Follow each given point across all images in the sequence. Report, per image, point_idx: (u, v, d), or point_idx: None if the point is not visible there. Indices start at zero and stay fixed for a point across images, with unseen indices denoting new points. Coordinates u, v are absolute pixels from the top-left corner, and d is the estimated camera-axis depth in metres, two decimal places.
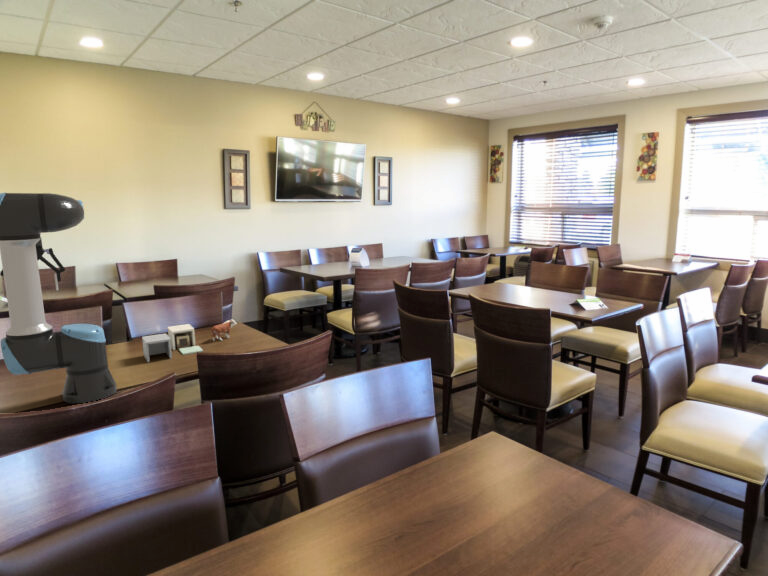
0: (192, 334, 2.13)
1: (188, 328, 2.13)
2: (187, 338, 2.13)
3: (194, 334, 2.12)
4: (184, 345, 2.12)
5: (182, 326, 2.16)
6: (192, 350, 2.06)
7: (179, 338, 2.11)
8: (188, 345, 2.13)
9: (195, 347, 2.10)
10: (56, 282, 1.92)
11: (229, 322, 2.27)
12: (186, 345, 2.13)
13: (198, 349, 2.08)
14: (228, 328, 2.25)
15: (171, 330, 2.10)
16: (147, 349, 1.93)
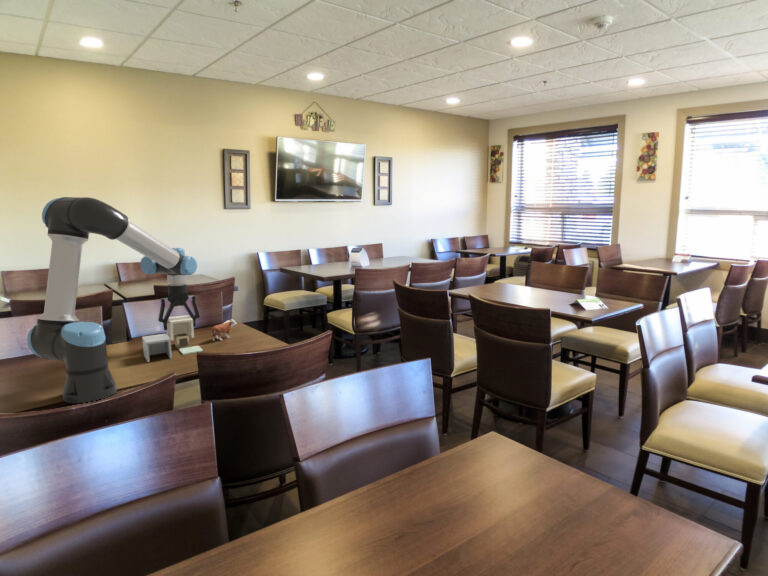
0: (191, 325, 2.11)
1: (187, 319, 2.12)
2: (187, 338, 2.13)
3: None
4: (184, 345, 2.12)
5: (181, 317, 2.15)
6: (192, 350, 2.06)
7: (179, 338, 2.11)
8: (188, 345, 2.13)
9: (195, 347, 2.10)
10: None
11: (229, 322, 2.27)
12: (186, 345, 2.13)
13: (198, 349, 2.08)
14: (228, 328, 2.25)
15: (170, 320, 2.08)
16: (147, 349, 1.93)
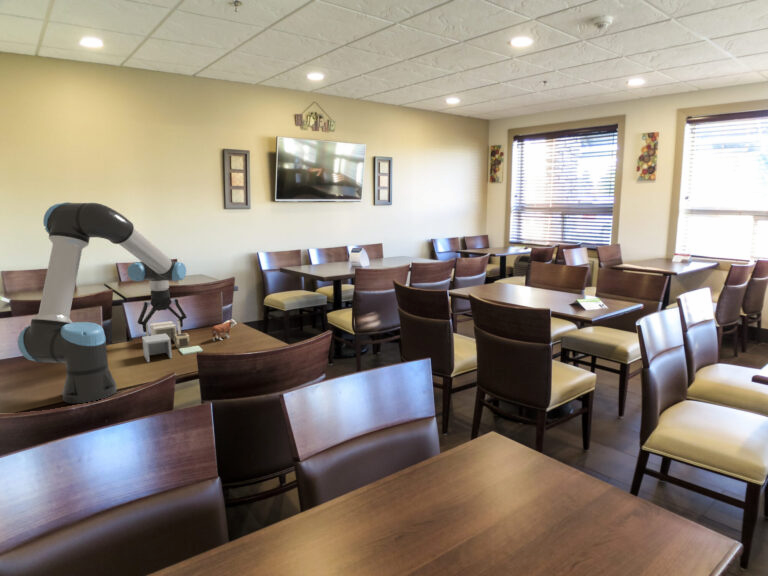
0: (174, 331, 2.18)
1: (170, 325, 2.18)
2: (187, 338, 2.13)
3: (176, 331, 2.18)
4: (184, 345, 2.12)
5: (164, 323, 2.21)
6: (192, 350, 2.06)
7: (179, 338, 2.11)
8: (188, 345, 2.13)
9: (195, 347, 2.10)
10: (179, 328, 2.22)
11: (229, 322, 2.27)
12: (186, 345, 2.13)
13: (198, 349, 2.08)
14: (228, 328, 2.25)
15: (153, 327, 2.15)
16: (147, 349, 1.93)
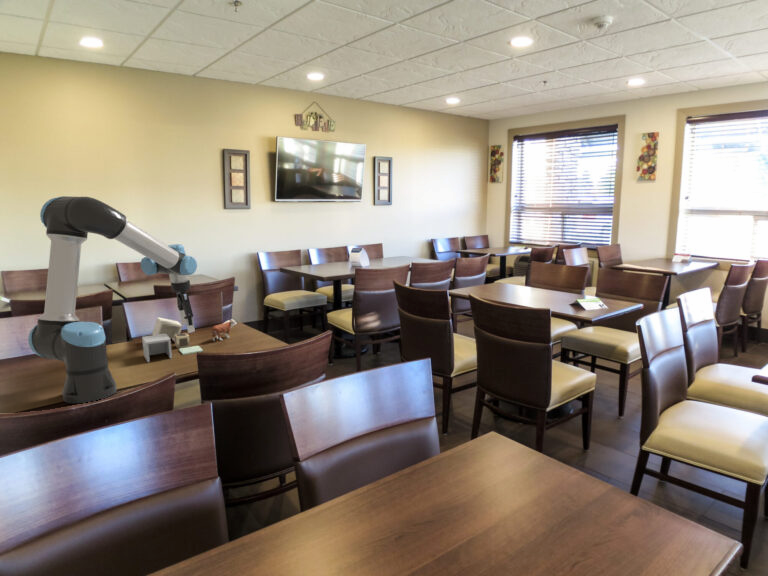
0: (178, 330, 2.19)
1: (177, 324, 2.20)
2: (187, 338, 2.13)
3: (180, 331, 2.19)
4: (184, 345, 2.12)
5: (171, 321, 2.23)
6: (192, 350, 2.06)
7: (179, 338, 2.11)
8: (188, 345, 2.13)
9: (195, 347, 2.10)
10: None
11: (229, 322, 2.27)
12: (186, 345, 2.13)
13: (198, 349, 2.08)
14: (228, 328, 2.25)
15: (161, 320, 2.16)
16: (147, 349, 1.93)
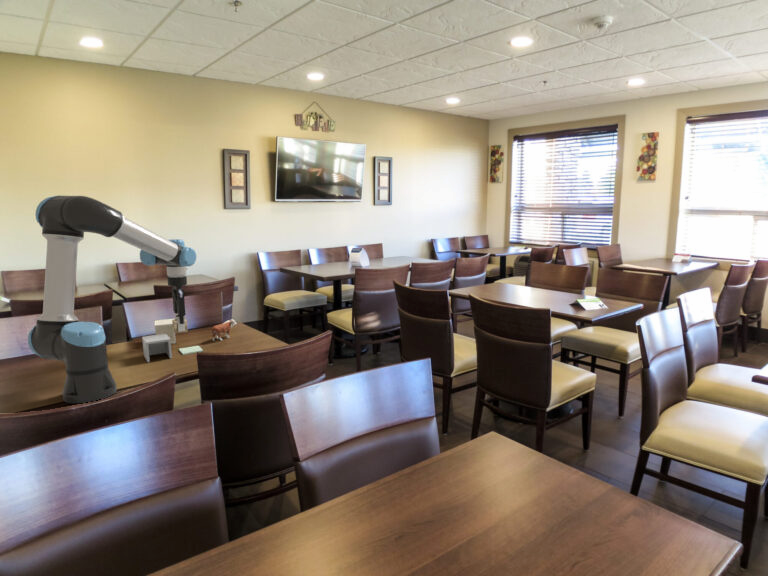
0: None
1: None
2: (185, 323, 2.11)
3: None
4: None
5: None
6: (192, 350, 2.06)
7: (177, 323, 2.09)
8: (186, 330, 2.12)
9: (195, 347, 2.10)
10: None
11: (229, 322, 2.27)
12: None
13: (198, 349, 2.08)
14: (228, 328, 2.25)
15: None
16: (147, 349, 1.93)
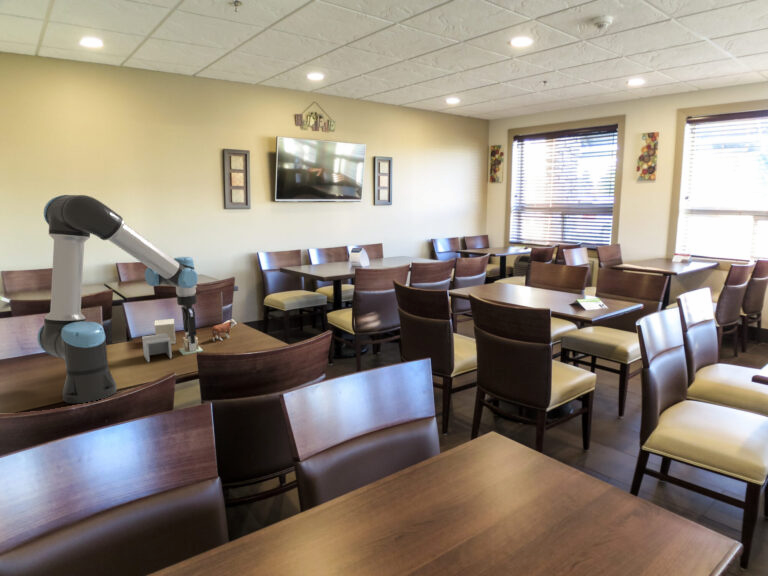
0: None
1: None
2: (196, 341, 2.06)
3: None
4: None
5: None
6: None
7: (188, 341, 2.04)
8: (197, 348, 2.07)
9: None
10: (189, 343, 2.04)
11: (229, 322, 2.27)
12: None
13: None
14: (228, 328, 2.25)
15: None
16: (147, 349, 1.93)
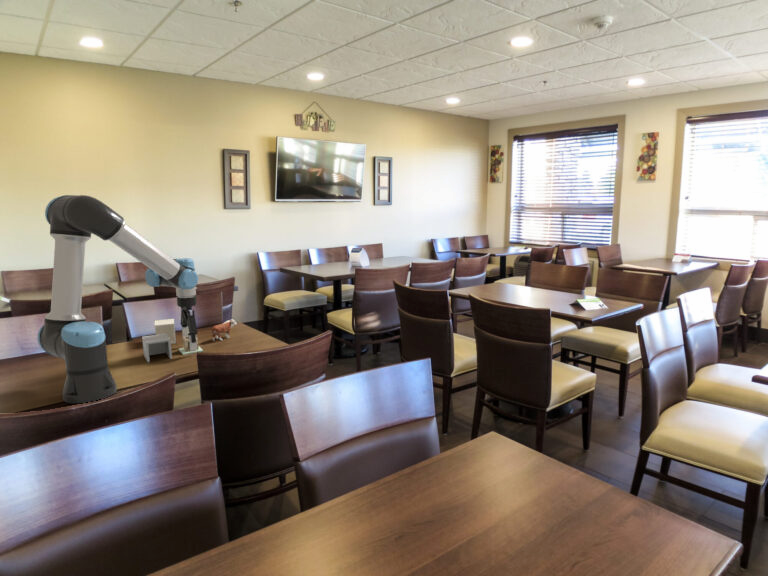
0: None
1: None
2: None
3: None
4: None
5: None
6: None
7: (188, 341, 2.04)
8: (197, 348, 2.07)
9: None
10: None
11: (229, 322, 2.27)
12: None
13: None
14: (228, 328, 2.25)
15: None
16: (147, 349, 1.93)
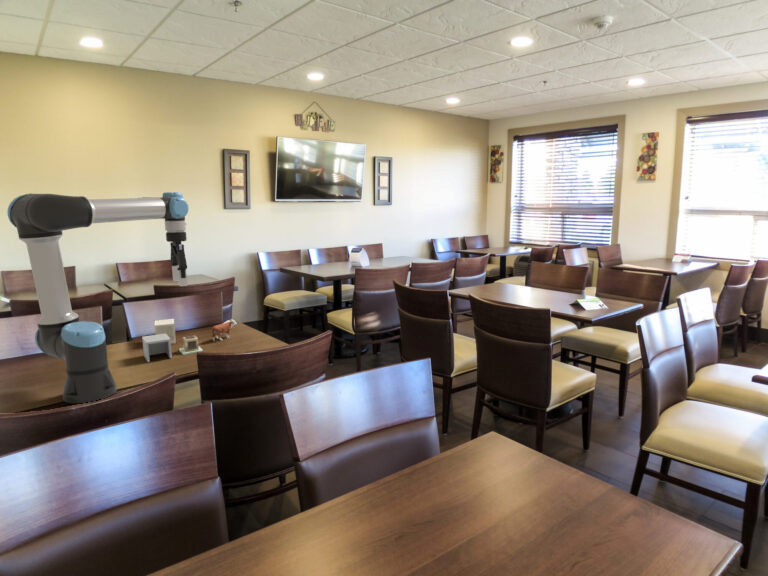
0: None
1: None
2: (196, 341, 2.06)
3: None
4: (193, 348, 2.06)
5: None
6: None
7: (188, 341, 2.04)
8: (197, 348, 2.07)
9: None
10: (179, 278, 1.96)
11: (229, 322, 2.27)
12: (195, 348, 2.06)
13: None
14: (228, 328, 2.25)
15: None
16: (147, 349, 1.93)
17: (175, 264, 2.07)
